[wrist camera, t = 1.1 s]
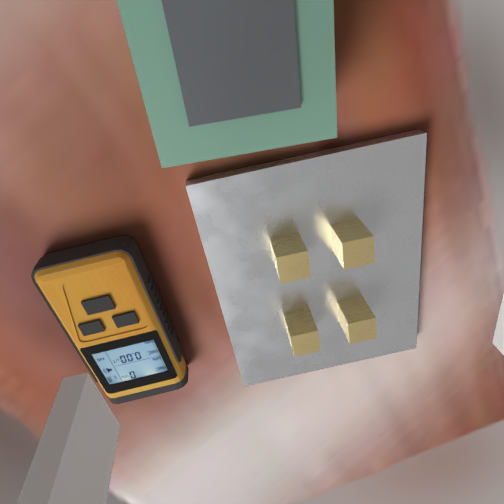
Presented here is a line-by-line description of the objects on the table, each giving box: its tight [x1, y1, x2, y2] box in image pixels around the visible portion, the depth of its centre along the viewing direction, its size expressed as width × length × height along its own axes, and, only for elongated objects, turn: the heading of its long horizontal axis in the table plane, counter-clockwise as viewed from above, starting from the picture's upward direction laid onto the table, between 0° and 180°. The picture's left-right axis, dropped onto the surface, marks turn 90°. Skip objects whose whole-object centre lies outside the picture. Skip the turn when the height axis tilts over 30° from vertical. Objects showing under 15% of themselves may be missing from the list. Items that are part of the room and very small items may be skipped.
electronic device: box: [31, 236, 188, 404], centre depth 33 cm, size 8×16×3 cm, turn 12°
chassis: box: [186, 129, 427, 387], centre depth 33 cm, size 22×18×4 cm
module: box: [117, 0, 337, 168], centre depth 21 cm, size 12×10×7 cm
